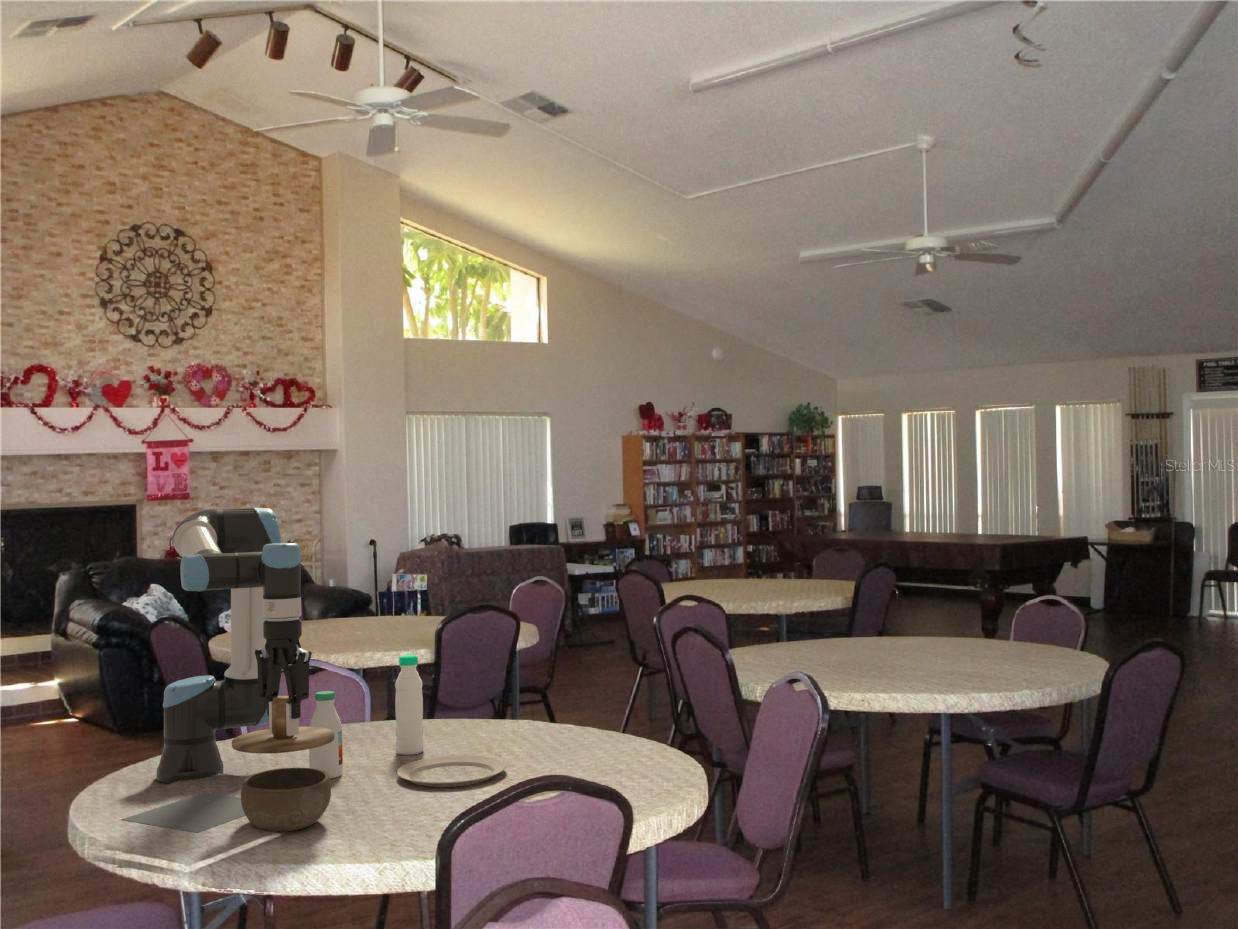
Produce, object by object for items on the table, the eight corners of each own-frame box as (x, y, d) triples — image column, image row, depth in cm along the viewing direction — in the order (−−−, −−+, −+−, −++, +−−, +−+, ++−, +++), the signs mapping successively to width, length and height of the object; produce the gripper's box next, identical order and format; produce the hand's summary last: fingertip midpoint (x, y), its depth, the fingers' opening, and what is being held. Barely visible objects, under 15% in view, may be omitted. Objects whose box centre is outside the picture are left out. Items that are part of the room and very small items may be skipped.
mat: (120, 824, 228) (120, 819, 228) (204, 797, 248) (204, 792, 248) (197, 837, 218) (197, 832, 218) (278, 808, 238) (278, 803, 238)
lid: (209, 748, 221) (209, 703, 221) (282, 728, 239) (281, 686, 239) (285, 757, 212) (284, 710, 212) (354, 735, 230) (354, 692, 230)
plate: (375, 779, 262) (375, 770, 262) (460, 758, 280) (459, 750, 280) (442, 797, 244) (442, 788, 244) (527, 774, 263) (527, 765, 263)
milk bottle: (333, 780, 260) (332, 695, 260) (303, 779, 261) (302, 695, 262) (348, 772, 267) (347, 689, 268) (318, 771, 269) (317, 689, 269)
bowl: (317, 839, 216) (317, 787, 216) (227, 840, 216) (226, 789, 217) (341, 813, 233) (340, 765, 234) (257, 814, 234) (256, 767, 234)
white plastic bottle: (410, 757, 282) (409, 658, 282) (390, 754, 285) (388, 656, 286) (429, 751, 288) (427, 654, 288) (409, 748, 291) (407, 653, 292)
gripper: (237, 619, 226) (239, 734, 226) (300, 622, 219) (302, 741, 218) (265, 615, 233) (266, 726, 233) (327, 618, 225) (328, 733, 225)
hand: (284, 733), depth 225 cm, fingers closed on lid, 4 cm apart
